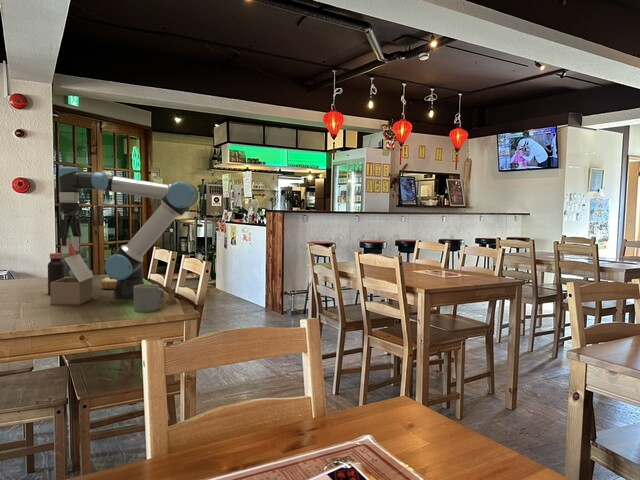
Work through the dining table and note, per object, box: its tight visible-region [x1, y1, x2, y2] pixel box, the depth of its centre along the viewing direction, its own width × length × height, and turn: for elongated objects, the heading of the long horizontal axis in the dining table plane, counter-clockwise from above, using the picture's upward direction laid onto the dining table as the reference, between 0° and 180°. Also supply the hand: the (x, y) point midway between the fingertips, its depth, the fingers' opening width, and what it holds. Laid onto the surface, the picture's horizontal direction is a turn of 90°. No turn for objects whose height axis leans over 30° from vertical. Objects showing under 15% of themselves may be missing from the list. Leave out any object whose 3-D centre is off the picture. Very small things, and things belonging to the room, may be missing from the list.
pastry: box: [100, 276, 117, 291], centre depth 238 cm, size 12×12×9 cm
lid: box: [60, 240, 95, 282], centre depth 202 cm, size 20×14×2 cm
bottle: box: [47, 252, 65, 296], centre depth 219 cm, size 7×7×20 cm
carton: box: [50, 277, 93, 306], centre depth 203 cm, size 12×14×10 cm
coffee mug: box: [133, 283, 166, 313], centre depth 191 cm, size 13×10×10 cm
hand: (70, 252), depth 201 cm, fingers open, 10 cm apart
